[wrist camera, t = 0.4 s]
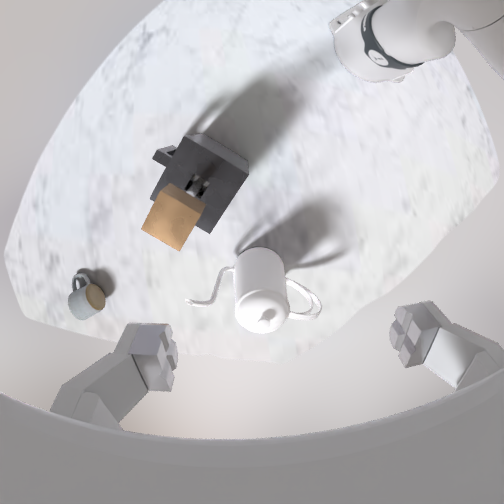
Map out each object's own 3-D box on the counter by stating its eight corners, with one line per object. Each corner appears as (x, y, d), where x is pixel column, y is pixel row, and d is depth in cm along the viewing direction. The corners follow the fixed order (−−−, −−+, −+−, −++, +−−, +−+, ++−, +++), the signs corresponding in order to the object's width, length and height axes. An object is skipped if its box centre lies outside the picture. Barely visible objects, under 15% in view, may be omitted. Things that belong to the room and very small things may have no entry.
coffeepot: (203, 231, 56) (187, 279, 39) (318, 258, 59) (344, 310, 42) (195, 276, 60) (179, 333, 43) (301, 298, 64) (318, 356, 47)
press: (188, 125, 47) (164, 124, 32) (247, 160, 50) (248, 174, 35) (162, 169, 50) (131, 187, 35) (219, 203, 53) (209, 234, 39)
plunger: (194, 149, 38) (154, 167, 21) (233, 172, 40) (224, 209, 22) (172, 187, 40) (122, 234, 23) (209, 209, 42) (186, 270, 25)
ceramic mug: (111, 299, 63) (99, 317, 56) (92, 309, 64) (80, 326, 57) (87, 265, 59) (72, 281, 52) (69, 278, 60) (55, 293, 53)
